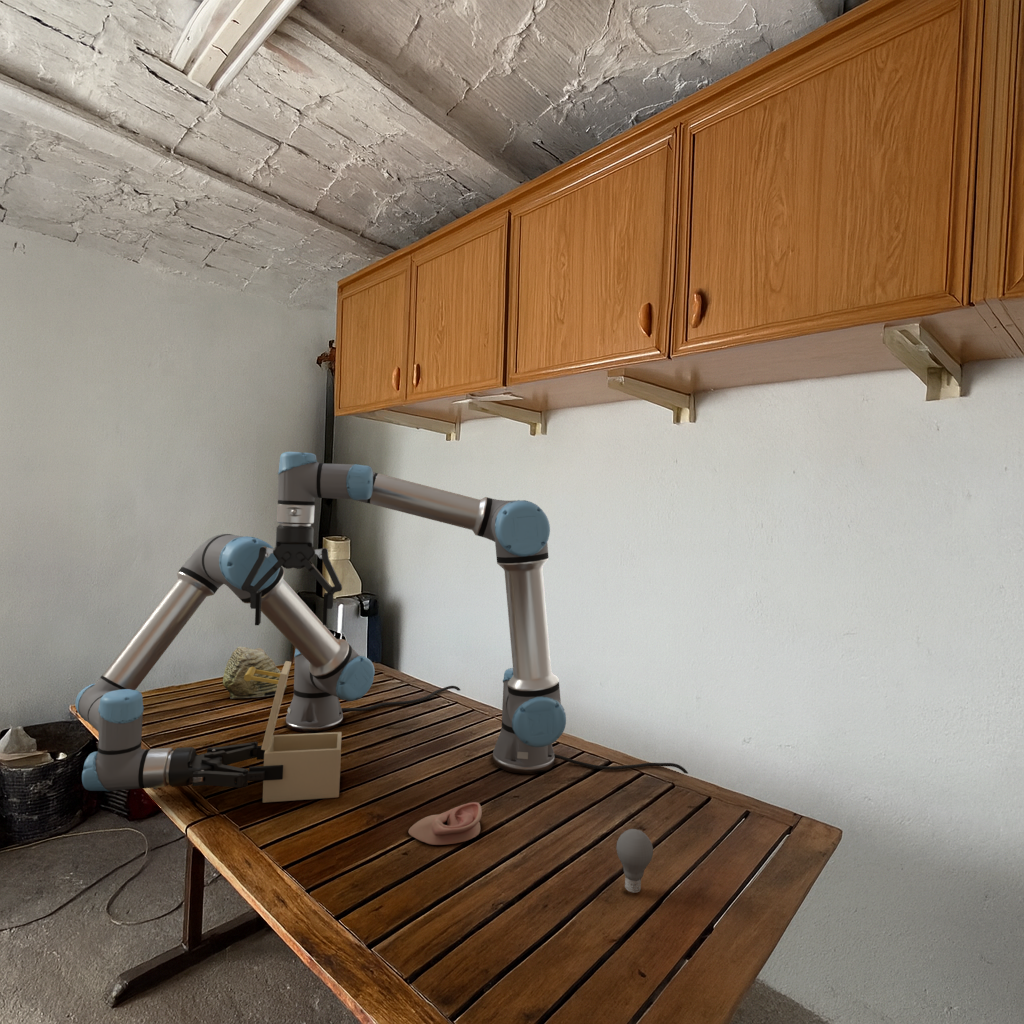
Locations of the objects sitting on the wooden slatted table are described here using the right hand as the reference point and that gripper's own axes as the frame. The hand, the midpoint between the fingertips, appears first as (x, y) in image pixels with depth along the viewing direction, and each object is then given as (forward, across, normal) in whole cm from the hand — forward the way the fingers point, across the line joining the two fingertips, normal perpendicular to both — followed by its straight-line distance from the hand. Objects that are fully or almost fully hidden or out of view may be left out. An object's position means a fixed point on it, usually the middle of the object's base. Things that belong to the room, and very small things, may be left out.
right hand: (291, 624), depth 135 cm
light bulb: (+36, +60, -46) cm, 83 cm away
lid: (+17, -2, 0) cm, 17 cm away
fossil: (+36, -16, +68) cm, 78 cm away
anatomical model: (+36, +32, -22) cm, 53 cm away
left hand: (+30, 0, 0) cm, 30 cm away
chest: (+36, +4, 0) cm, 36 cm away
